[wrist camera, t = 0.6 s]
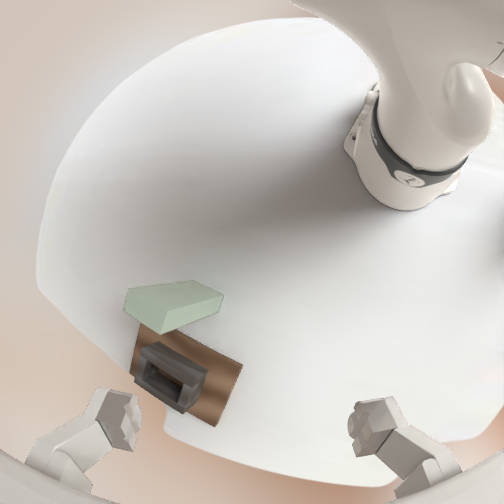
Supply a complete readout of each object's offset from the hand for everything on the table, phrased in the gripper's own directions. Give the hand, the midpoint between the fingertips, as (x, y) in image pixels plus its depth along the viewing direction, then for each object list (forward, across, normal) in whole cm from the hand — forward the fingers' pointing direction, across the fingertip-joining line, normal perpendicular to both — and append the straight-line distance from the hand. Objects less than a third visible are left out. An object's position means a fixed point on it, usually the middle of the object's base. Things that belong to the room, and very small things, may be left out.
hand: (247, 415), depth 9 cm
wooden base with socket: (+30, +10, +28) cm, 43 cm away
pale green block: (+34, +6, +14) cm, 37 cm away
